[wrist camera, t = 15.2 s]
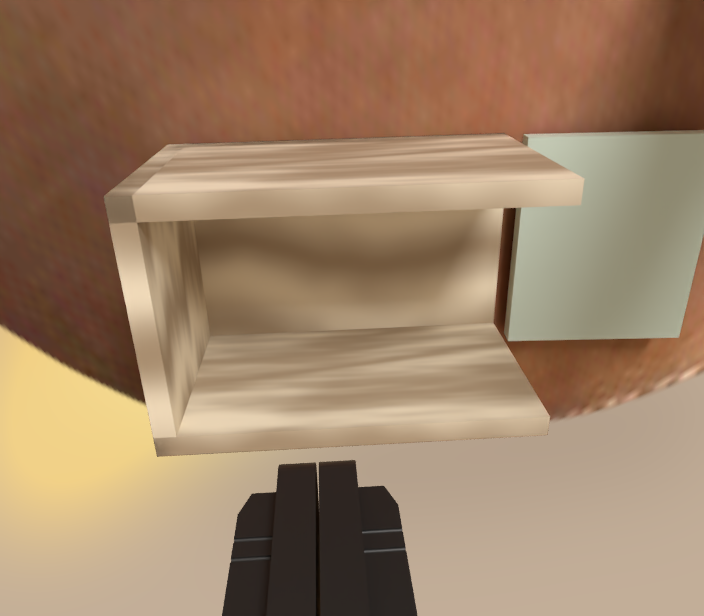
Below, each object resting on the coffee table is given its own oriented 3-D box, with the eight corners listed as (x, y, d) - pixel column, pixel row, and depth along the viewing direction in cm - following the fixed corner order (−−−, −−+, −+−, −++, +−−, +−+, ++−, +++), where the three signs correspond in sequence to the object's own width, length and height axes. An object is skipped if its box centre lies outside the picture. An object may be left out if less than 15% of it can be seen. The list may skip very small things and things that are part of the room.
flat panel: (528, 137, 36) (728, 132, 36) (523, 134, 37) (717, 129, 37) (507, 341, 42) (678, 337, 42) (504, 333, 43) (670, 329, 43)
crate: (167, 144, 37) (103, 196, 26) (504, 133, 38) (584, 178, 26) (198, 343, 43) (157, 456, 32) (487, 329, 44) (547, 435, 32)
